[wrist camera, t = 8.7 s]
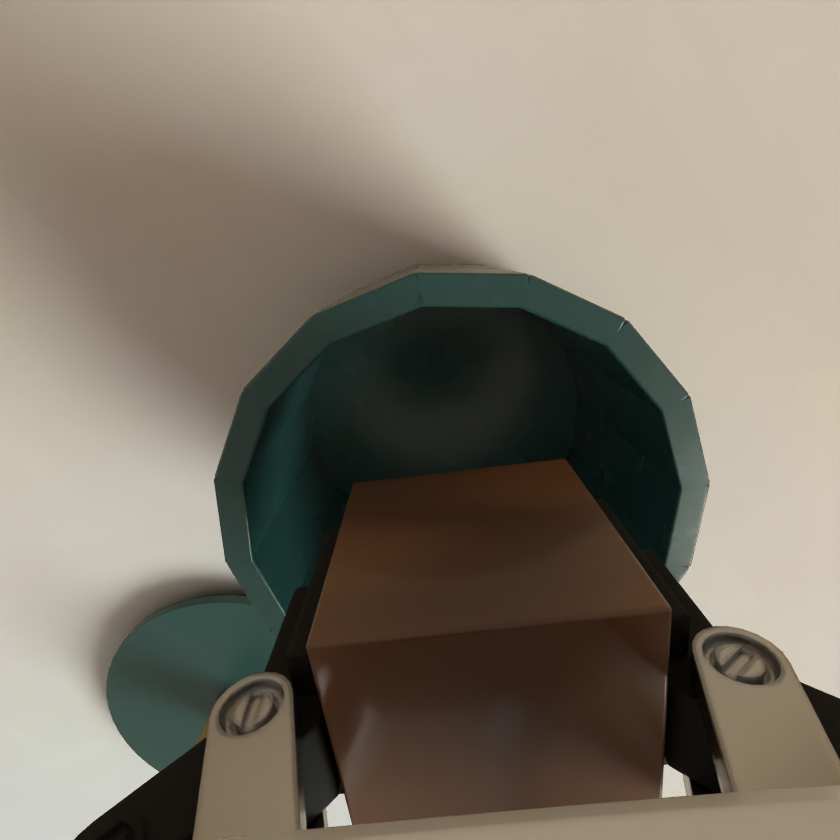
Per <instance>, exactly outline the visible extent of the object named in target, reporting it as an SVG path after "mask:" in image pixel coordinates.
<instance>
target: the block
mask: <svg viewBox="0 0 840 840" xmlns="http://www.w3.org/2000/svg"><path fill="white" fill-rule="evenodd" d="M671 617H672V610H671V607H670V605H669V604H668V602H667V601H666V600H665V598H664V597H663V595H662V594H661V593H660V591H659V590H658V588H657V587H656V586H655V584H654V583H653V581H652V580H651V579H650V577H649V576H648V574H647V573H646V571H645V570H644V569H643V567H642V566H641V564H640V563H639V562H638V560H637V559H636V557H635V556H634V555H633V553H632V552H631V550H630V549H629V548H628V546H627V545H626V543H625V542H624V540H623V539H622V538H621V536H620V535H619V533H618V532H617V531H616V529H615V528H614V526H613V525H612V524H611V522H610V521H609V519H608V518H607V517H606V515H605V514H604V512H603V511H602V509H601V508H600V507H599V505H598V504H597V502H596V501H595V500H594V498H593V497H592V495H591V494H590V493H589V491H588V490H587V488H586V487H585V486H584V484H583V483H582V481H581V480H580V478H579V477H578V476H577V474H576V473H575V471H574V470H573V469H572V467H571V466H570V464H569V463H568V462H567V460H566V459H557V460H548V461H539V462H531V463H522V464H514V465H505V466H497V467H488V468H479V469H471V470H462V471H454V472H445V473H437V474H428V475H419V476H411V477H402V478H394V479H385V480H377V481H368V482H359V483H354V484H353V485H352V489H351V492H350V496H349V499H348V502H347V506H346V509H345V513H344V516H343V520H342V523H341V527H340V530H339V534H338V537H337V541H336V544H335V548H334V551H333V554H332V558H331V561H330V565H329V568H328V572H327V575H326V579H325V582H324V586H323V589H322V593H321V596H320V600H319V603H318V606H317V610H316V613H315V617H314V620H313V624H312V627H311V631H310V634H309V638H308V641H307V645H306V648H307V652H308V656H309V660H310V664H311V668H312V672H313V675H314V679H315V683H316V687H317V691H318V695H319V698H320V702H321V706H322V710H323V714H324V718H325V722H326V725H327V729H328V733H329V737H330V741H331V745H332V748H333V752H334V756H335V760H336V764H337V768H338V771H339V775H340V779H341V783H342V787H343V791H344V795H345V798H346V802H347V806H348V810H349V814H350V818H351V821H352V825H359V824H370V823H381V822H391V821H402V820H413V819H423V818H434V817H445V816H457V815H468V814H479V813H491V812H502V811H513V810H525V809H537V808H548V807H560V806H571V805H583V804H595V803H606V802H619V801H631V800H643V799H656V798H662V786H663V767H664V748H665V729H666V711H667V692H668V673H669V654H670V636H671Z"/></svg>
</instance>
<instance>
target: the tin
mask: <svg viewBox="0 0 840 840" xmlns="http://www.w3.org/2000/svg"><path fill="white" fill-rule="evenodd" d="M557 459H566V460H567V462H568V463H569V464H570V466H571V467H572V469H573V470H574V471H575V473H576V474H577V476H578V477H579V478H580V480H581V481H582V483H583V484H584V486H585V487H586V488H587V490H588V491H589V493H590V494H591V495H592V497H593V498H594V500H598V499H603V500H604V501H605V502H606V503H607V504H608V506H609V507H610V508H611V510H612V511H613V512H614V514H615V515H616V516H617V518H618V519H619V520H620V522H621V523H622V525H623V526H624V527H625V529H626V530H627V531H628V533H629V534H630V535H631V537H632V538H633V539H634V541H635V542H636V543H637V545H638V546H639V547H640V549H641V550H647V549H649V550H652V551H653V552H654V553H655V554H656V555H657V556H658V557H659V559H660V560H661V561H662V562H663V564H664V565H665V566H666V567H667V569H668V570H669V571H670V573H671V574H672V575H673V576H674V578H675V579H676V580H677V581H678V582H679V581H680V580H681V578H682V577H683V575H684V574H685V573H686V571H687V570H688V568H689V566H691V562H692V558H693V554H694V549H695V545H696V541H697V537H698V532H699V528H700V524H701V519H702V515H703V511H704V506H705V502H706V498H707V493H708V489H709V478H708V473H707V469H706V464H705V460H704V455H703V451H702V447H701V442H700V438H699V433H698V429H697V424H696V420H695V415H694V411H693V406H692V402H691V398H690V396H689V395H688V393H687V391H686V390H685V389H684V388H683V387H682V385H681V384H680V383H679V382H678V380H677V379H676V378H675V377H674V376H673V374H672V373H671V372H670V371H669V370H668V368H667V367H666V366H665V365H664V363H663V362H662V361H661V360H660V359H659V357H658V356H657V355H656V354H655V352H654V351H653V350H652V349H651V348H650V346H649V345H648V344H647V343H646V342H645V340H644V339H643V338H642V337H641V335H640V334H639V333H638V332H637V331H636V329H635V328H634V327H633V326H632V325H631V323H630V322H629V321H627V320H625V319H624V318H623V317H622V316H619V315H617V314H615V313H613V312H611V311H609V310H606V309H604V308H602V307H600V306H598V305H596V304H593V303H591V302H589V301H587V300H585V299H583V298H581V297H578V296H576V295H574V294H572V293H570V292H568V291H565V290H563V289H561V288H559V287H557V286H555V285H552V284H550V283H548V282H546V281H544V280H542V279H539V278H537V277H535V276H533V275H529V274H526V273H521V272H515V271H510V270H505V269H499V268H494V267H489V266H483V265H451V264H417V265H413V266H411V267H408V268H406V269H404V270H401V271H399V272H397V273H394V274H392V275H389V276H387V277H385V278H382V279H380V280H378V281H375V282H373V283H370V284H368V285H366V286H363V287H361V288H359V289H357V290H355V291H353V292H351V293H350V294H348V295H346V296H345V297H343V298H341V299H340V300H338V301H336V302H334V303H333V304H331V305H329V306H328V307H326V308H324V309H322V310H321V311H319V312H317V313H316V314H314V315H313V316H312V317H310V318H309V319H308V320H307V321H306V322H305V323H304V325H303V326H302V327H301V328H300V329H299V330H298V331H297V332H296V333H295V334H294V335H293V336H292V337H291V338H290V339H289V341H288V342H287V343H286V344H285V345H284V346H283V347H282V348H281V349H280V350H279V351H278V352H277V353H276V354H275V355H274V357H273V358H272V359H271V360H270V361H269V362H268V363H267V364H266V365H265V366H264V367H263V368H262V369H261V370H260V371H259V373H258V374H257V375H256V376H255V377H254V378H253V379H252V380H251V381H250V382H249V383H248V384H247V385H246V386H245V388H244V390H243V392H242V393H241V395H240V398H239V402H238V405H237V408H236V411H235V414H234V417H233V420H232V424H231V427H230V430H229V433H228V436H227V439H226V442H225V445H224V449H223V452H222V455H221V458H220V461H219V464H218V467H217V471H216V474H215V479H214V484H215V491H216V498H217V505H218V513H219V520H220V527H221V534H222V541H223V548H224V555H225V562H227V564H228V566H229V568H230V569H231V571H232V573H233V574H234V576H235V577H236V579H237V581H238V582H239V584H240V585H241V587H242V589H243V590H244V592H245V593H246V595H247V597H248V598H249V600H250V601H251V603H252V604H253V606H254V608H255V609H256V611H257V612H258V614H259V616H260V617H261V619H262V620H263V622H264V624H265V625H266V627H267V628H268V630H270V633H271V634H273V635H274V636H275V637H277V636H278V633H279V631H280V628H281V625H282V622H283V620H284V617H285V614H286V612H287V609H288V606H289V604H290V601H291V598H292V595H293V593H294V591H295V589H296V588H298V587H305V586H309V584H310V581H311V578H312V575H313V572H314V569H315V566H316V563H317V560H318V557H319V554H320V551H321V548H322V545H323V542H324V539H325V536H326V533H327V531H328V530H332V529H340V527H341V523H342V520H343V516H344V513H345V509H346V506H347V502H348V499H349V496H350V492H351V489H352V485H353V484H354V483H359V482H368V481H377V480H385V479H394V478H402V477H411V476H419V475H428V474H437V473H445V472H454V471H462V470H471V469H479V468H488V467H497V466H505V465H514V464H522V463H531V462H539V461H548V460H557Z"/></svg>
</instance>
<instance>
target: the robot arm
mask: <svg viewBox="0 0 840 840" xmlns="http://www.w3.org/2000/svg"><path fill="white" fill-rule="evenodd" d="M595 501H596V502H597V504H598V505H599V507H600V508H601V509H602V511H603V512H604V514H605V515H606V517H607V518H608V519H609V521H610V522H611V524H612V525H613V526H614V528H615V529H616V531H617V532H618V533H619V535H620V536H621V538H622V539H623V540H624V542H625V543H626V545H627V546H628V548H629V549H630V550H631V552H632V553H633V555H634V556H635V557H636V559H637V560H638V562H639V563H640V564H641V566H642V567H643V569H644V570H645V571H646V573H647V574H648V576H649V577H650V579H651V580H652V581H653V583H654V584H655V586H656V587H657V588H658V590H659V591H660V593H661V594H662V595H663V597H664V598H665V600H666V601H667V602H668V604H669V605H670V607H671V610H672V617H671V636H670V654H669V673H668V692H667V711H666V729H665V748H664V765H666V764H668V765H669V766H671V767H672V768H674V769H676V770H677V771H679V772H681V773H682V774H683V780H684V785H685V790H686V795H687V796H680V797H668V798H656V799H643V800H631V801H619V802H606V803H595V804H583V805H571V806H560V807H548V808H537V809H525V810H513V811H502V812H491V813H479V814H468V815H457V816H445V817H434V818H423V819H413V820H402V821H391V822H381V823H370V824H359V825H348V826H338V827H328V820H327V811H326V807H327V806H328V805H329V804H330V803H331V802H332V801H333V800H334V799H335V798H336V797H337V796H338V794H344V791H343V787H342V783H341V779H340V775H339V771H338V768H337V764H336V760H335V756H334V752H333V748H332V745H331V741H330V737H329V733H328V729H327V725H326V722H325V718H324V714H323V710H322V706H321V702H320V698H319V695H318V691H317V687H316V683H315V679H314V675H313V672H312V668H311V664H310V660H309V656H308V652H307V648H306V645H307V641H308V638H309V634H310V631H311V627H312V624H313V620H314V617H315V613H316V610H317V606H318V603H319V600H320V596H321V593H322V589H323V586H324V582H325V579H326V575H327V572H328V568H329V565H330V561H331V558H332V554H333V551H334V548H335V544H336V541H337V537H338V534H339V530H340V529H332V530H328V531H327V533H326V536H325V539H324V542H323V545H322V548H321V551H320V554H319V557H318V560H317V563H316V566H315V569H314V572H313V575H312V578H311V581H310V584H309V586H305V587H298V588H296V589H295V591H294V593H293V595H292V598H291V601H290V604H289V606H288V609H287V612H286V614H285V617H284V620H283V622H282V625H281V628H280V631H279V633H278V636H277V639H276V641H275V644H274V647H273V649H272V652H271V655H270V658H269V660H268V663H267V666H266V668H265V671H264V672H262V673H257V674H253V675H250V676H248V677H246V678H243V679H241V680H240V681H238V682H237V683H235V684H234V685H232V686H231V687H229V688H228V689H227V691H226V692H225V693H224V694H223V695H222V696H221V697H220V698H219V699H218V701H217V702H216V704H215V706H214V707H213V709H212V713H211V716H210V719H209V726H208V733H207V737H206V738H204V739H203V740H202V741H200V742H199V743H198V744H196V745H195V746H194V747H192V748H191V749H190V750H188V751H187V752H186V753H184V754H183V755H182V756H180V757H179V758H178V759H176V760H175V761H174V762H172V763H171V764H170V765H168V766H167V767H166V768H164V769H163V770H162V771H160V772H159V773H158V774H156V775H155V776H154V777H152V778H151V779H150V780H148V781H147V782H146V783H144V784H143V785H142V786H140V787H139V788H138V789H136V790H135V791H134V792H132V793H131V794H130V795H128V796H127V797H126V798H124V799H123V800H122V801H120V802H119V803H118V804H116V805H115V806H114V807H112V808H111V809H110V810H108V811H107V812H106V813H104V814H103V815H102V816H100V817H99V818H98V819H96V820H95V821H94V822H93V823H91V824H90V825H89V826H88V827H87V828H86V829H85V830H83V831H82V832H81V833H80V834H79V835H78V836H77V837H76V838H75V839H74V840H840V699H839V698H837V697H834V696H832V695H830V694H827V693H825V692H823V691H820V690H818V689H815V688H813V687H811V686H808V685H806V684H804V683H801V682H800V681H799V679H798V677H797V675H796V673H795V671H794V669H793V667H792V665H791V663H790V662H789V660H788V659H787V658H786V656H785V655H784V654H783V652H782V651H781V650H779V649H778V648H777V647H776V646H775V645H774V644H772V643H771V642H770V641H768V640H766V639H764V638H763V637H761V636H759V635H757V634H755V633H752V632H749V631H746V630H744V629H740V628H734V627H729V626H714V627H713V626H712V625H711V624H710V622H709V621H708V620H707V619H706V617H705V616H704V615H703V613H702V612H701V611H700V610H699V608H698V607H697V606H696V604H695V603H694V602H693V601H692V599H691V598H690V597H689V596H688V594H687V593H686V592H685V590H684V589H683V588H682V587H681V585H680V584H679V583H678V581H677V580H676V579H675V578H674V576H673V575H672V574H671V573H670V571H669V570H668V569H667V567H666V566H665V565H664V564H663V562H662V561H661V560H660V559H659V557H658V556H657V555H656V554H655V553H654V552H653V551H652V550H649V549H647V550H641V549H640V547H639V546H638V545H637V543H636V542H635V541H634V539H633V538H632V537H631V535H630V534H629V533H628V531H627V530H626V529H625V527H624V526H623V525H622V523H621V522H620V520H619V519H618V518H617V516H616V515H615V514H614V512H613V511H612V510H611V508H610V507H609V506H608V504H607V503H606V502H605V501H604V500H603V499H598V500H595Z"/></svg>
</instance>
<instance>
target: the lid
mask: <svg viewBox="0 0 840 840" xmlns="http://www.w3.org/2000/svg"><path fill="white" fill-rule="evenodd" d="M276 639H277V637H275V636H274V635H273V634H271V633H270V630H268V628H267V627H266V625H265V624H264V622H263V620H262V619H261V617H260V616H259V614H258V612H257V611H256V609H255V608H254V606H253V604H252V603H251V601H250V600H249V598H248V597H247V596H238V595H215V596H205V597H199V598H193V599H189V600H186V601H182V602H179V603H175V604H173V605H171V606H168V607H166V608H164V609H161V610H160V611H158V612H156V613H155V614H153V615H151V616H150V617H148V618H146V619H145V620H144V621H143V622H142V623H140V624H139V625H138V626H137V627H136V628H135V629H134V630H133V631H132V632H131V633H130V634H129V636H128V637H127V638H126V639H125V640H124V642H123V643H122V644H121V646H120V648H119V649H118V651H117V652H116V654H115V656H114V658H113V660H112V663H111V666H110V668H109V672H108V678H107V700H108V706H109V710H110V713H111V716H112V719H113V721H114V723H115V725H116V727H117V729H118V731H119V732H120V734H121V735H122V737H123V738H124V740H125V741H126V742H127V744H128V745H129V746H130V747H131V748H132V749H133V750H134V751H135V752H136V754H137V755H138V756H140V757H141V758H142V759H143V760H144V761H145V762H147V763H148V764H149V765H150V766H152V767H153V768H155V769H156V770H158V771H159V772H160V771H162V770H163V769H164V768H166V767H167V766H168V765H170V764H171V763H172V762H174V761H175V760H176V759H178V758H179V757H180V756H182V755H183V754H184V753H186V752H187V751H188V750H190V749H191V748H192V747H194V746H195V745H196V744H198V743H199V742H200V741H202V740H203V739H204V738H206V737H207V733H208V726H209V719H210V716H211V713H212V709H213V707H214V706H215V704H216V702H217V701H218V699H219V698H220V697H221V696H222V695H223V694H224V693H225V692H226V691H227V689H228V688H229V687H231V686H232V685H234V684H235V683H237V682H238V681H240V680H241V679H243V678H246V677H248V676H250V675H253V674H257V673H262V672H264V671H265V668H266V666H267V663H268V660H269V658H270V655H271V652H272V649H273V647H274V644H275V641H276Z"/></svg>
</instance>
